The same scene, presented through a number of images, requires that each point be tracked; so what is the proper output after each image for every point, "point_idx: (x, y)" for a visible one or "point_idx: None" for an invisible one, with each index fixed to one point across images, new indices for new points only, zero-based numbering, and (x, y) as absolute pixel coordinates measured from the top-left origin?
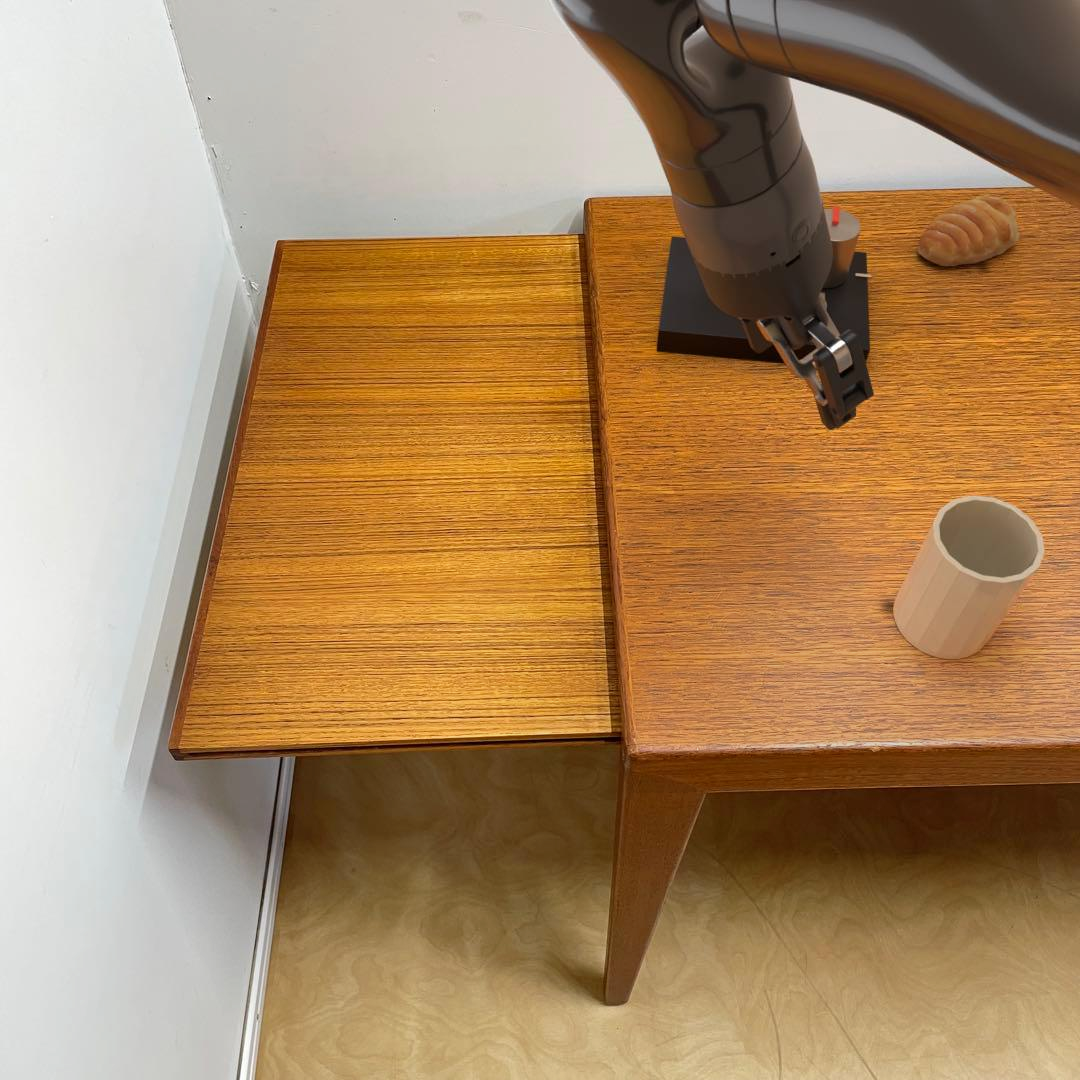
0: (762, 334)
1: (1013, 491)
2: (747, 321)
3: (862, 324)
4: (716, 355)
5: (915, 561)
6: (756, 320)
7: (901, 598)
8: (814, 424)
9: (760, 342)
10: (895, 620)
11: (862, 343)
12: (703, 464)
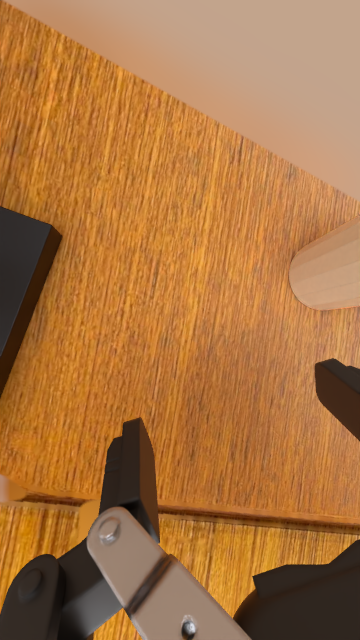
0: (150, 469)
1: (221, 171)
2: (155, 539)
3: (11, 218)
4: (10, 369)
5: (351, 300)
6: (152, 515)
7: (329, 307)
8: (119, 303)
9: (151, 460)
10: (320, 310)
11: (40, 229)
12: (145, 414)
